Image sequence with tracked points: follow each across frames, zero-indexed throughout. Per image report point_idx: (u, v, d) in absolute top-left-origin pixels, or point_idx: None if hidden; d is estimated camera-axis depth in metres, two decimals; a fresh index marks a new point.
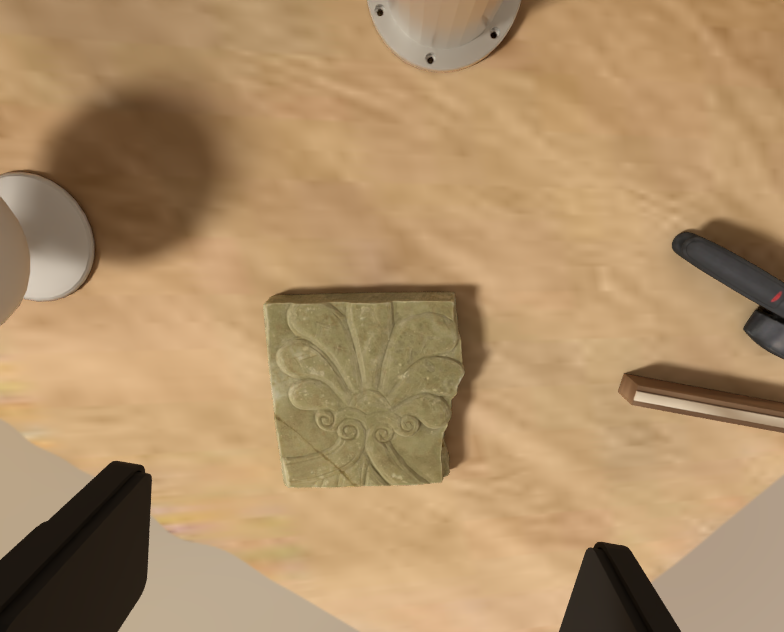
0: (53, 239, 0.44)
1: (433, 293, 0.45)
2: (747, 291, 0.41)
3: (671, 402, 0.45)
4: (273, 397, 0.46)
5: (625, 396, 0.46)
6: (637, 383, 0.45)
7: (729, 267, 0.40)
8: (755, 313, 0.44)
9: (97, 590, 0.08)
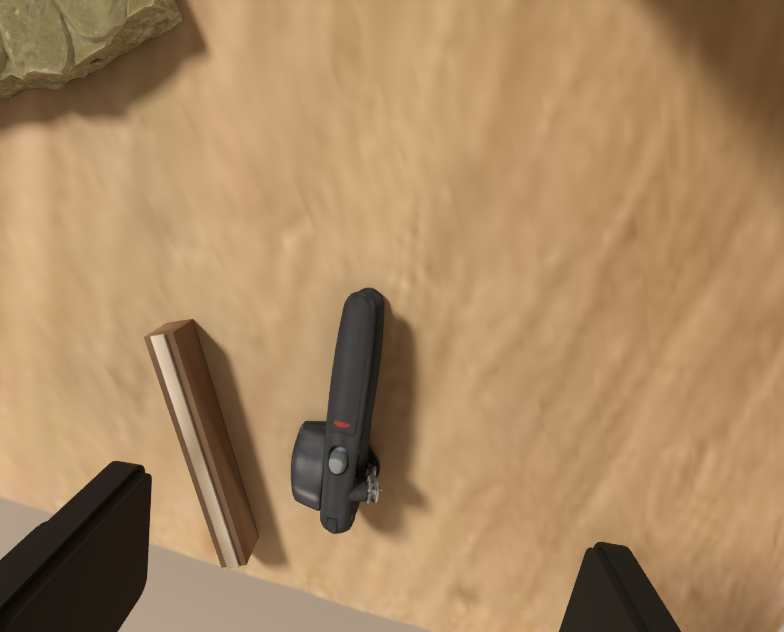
0: None
1: None
2: (334, 391, 0.31)
3: (172, 383, 0.32)
4: None
5: (158, 329, 0.33)
6: (176, 332, 0.32)
7: (352, 355, 0.30)
8: (326, 423, 0.35)
9: (97, 590, 0.08)
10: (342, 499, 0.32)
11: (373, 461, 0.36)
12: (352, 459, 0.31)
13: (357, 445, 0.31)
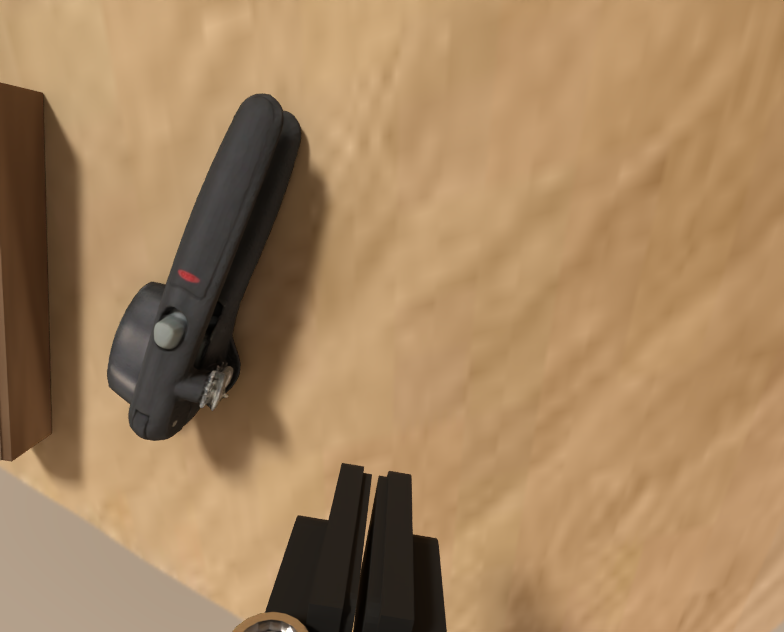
0: None
1: None
2: (191, 226, 0.21)
3: None
4: None
5: None
6: (0, 85, 0.21)
7: (228, 177, 0.20)
8: None
9: None
10: (162, 389, 0.22)
11: (232, 362, 0.26)
12: (191, 333, 0.22)
13: (204, 315, 0.22)
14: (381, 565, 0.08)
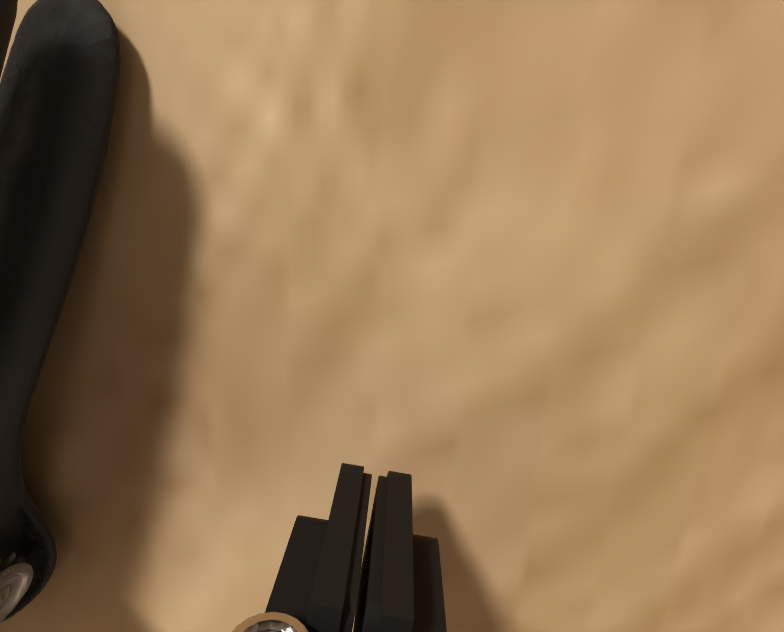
0: None
1: None
2: None
3: None
4: None
5: None
6: None
7: None
8: None
9: None
10: None
11: (35, 544, 0.13)
12: None
13: None
14: (381, 565, 0.08)
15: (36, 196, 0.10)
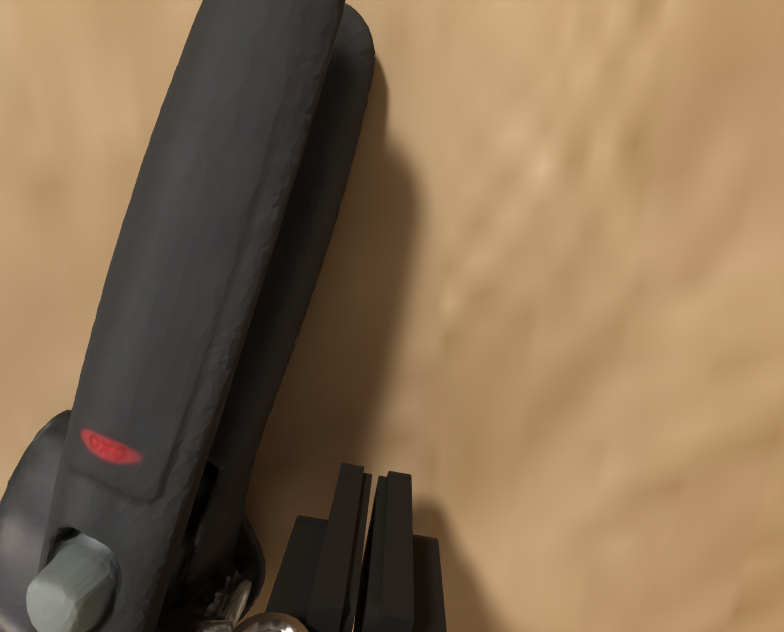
0: None
1: None
2: (108, 306, 0.07)
3: None
4: None
5: None
6: None
7: (201, 158, 0.07)
8: None
9: None
10: None
11: (248, 560, 0.12)
12: (133, 588, 0.08)
13: (164, 539, 0.08)
14: (381, 565, 0.08)
15: (300, 209, 0.09)
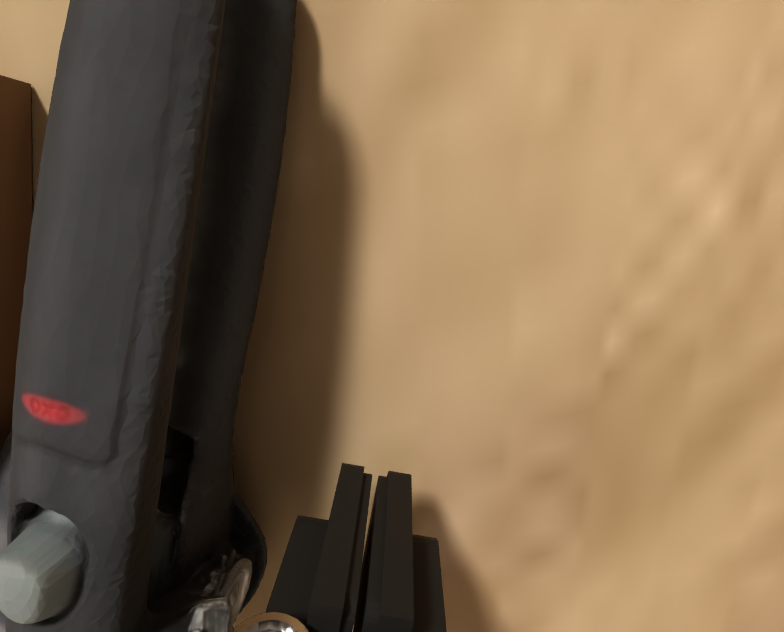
0: None
1: None
2: (32, 260, 0.07)
3: None
4: None
5: None
6: None
7: (101, 82, 0.06)
8: None
9: None
10: None
11: (246, 540, 0.12)
12: (102, 561, 0.08)
13: (127, 504, 0.07)
14: (381, 565, 0.08)
15: (237, 151, 0.09)
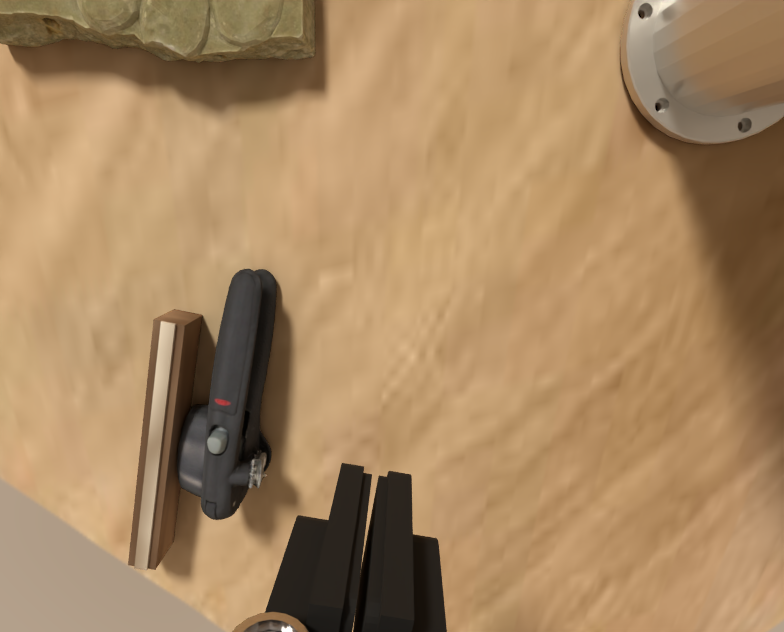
0: None
1: (312, 17, 0.29)
2: (216, 368, 0.31)
3: (162, 372, 0.32)
4: None
5: (167, 314, 0.32)
6: (187, 325, 0.31)
7: (234, 331, 0.30)
8: None
9: None
10: (221, 481, 0.31)
11: (264, 448, 0.35)
12: (232, 439, 0.31)
13: (238, 425, 0.31)
14: (381, 565, 0.08)
15: (261, 331, 0.33)
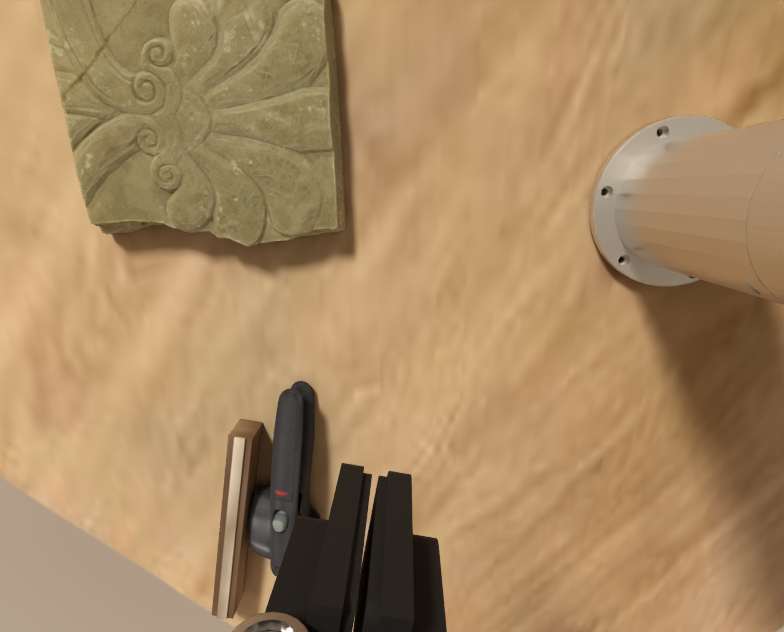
0: None
1: (343, 204, 0.37)
2: (274, 466, 0.39)
3: (236, 474, 0.41)
4: None
5: (236, 427, 0.41)
6: (253, 438, 0.40)
7: (285, 439, 0.39)
8: None
9: None
10: None
11: (315, 516, 0.44)
12: (291, 519, 0.40)
13: (294, 508, 0.40)
14: (381, 565, 0.08)
15: (305, 430, 0.41)
